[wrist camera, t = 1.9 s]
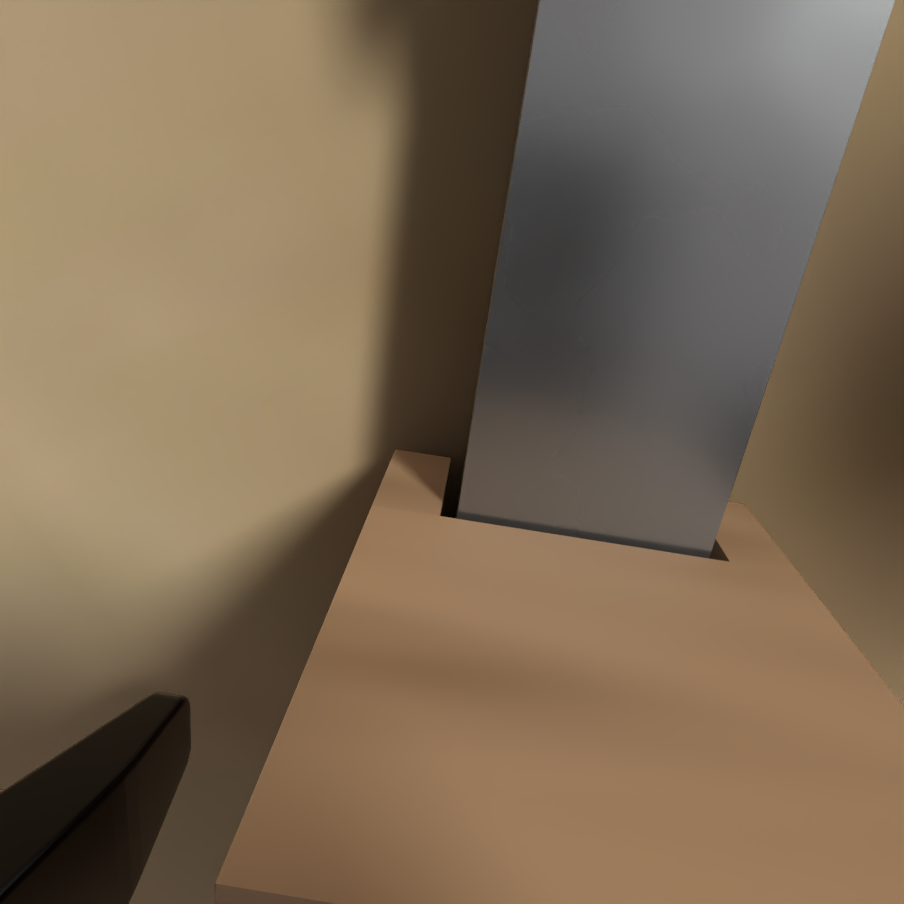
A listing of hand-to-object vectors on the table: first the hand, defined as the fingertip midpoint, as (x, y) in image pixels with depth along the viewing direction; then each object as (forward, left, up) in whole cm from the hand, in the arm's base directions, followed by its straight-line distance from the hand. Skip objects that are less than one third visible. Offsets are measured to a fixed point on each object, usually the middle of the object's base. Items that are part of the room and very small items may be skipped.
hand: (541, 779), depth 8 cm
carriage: (0, 0, -3) cm, 3 cm away
